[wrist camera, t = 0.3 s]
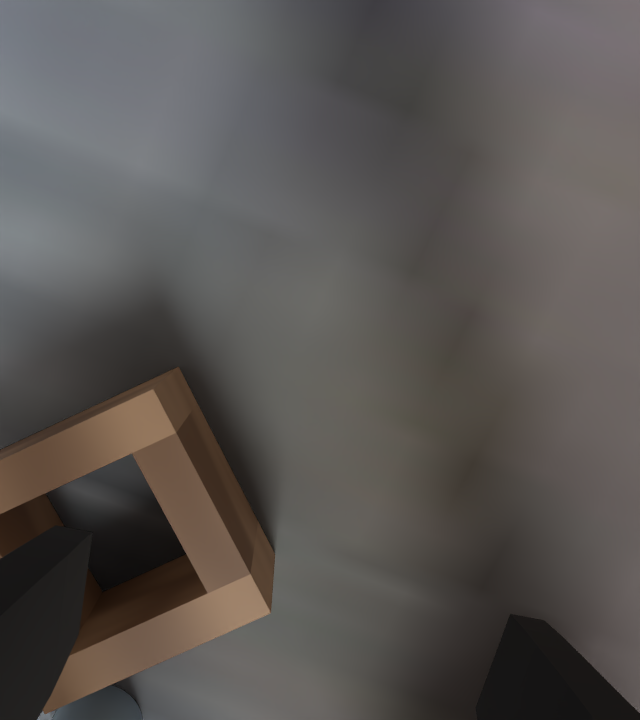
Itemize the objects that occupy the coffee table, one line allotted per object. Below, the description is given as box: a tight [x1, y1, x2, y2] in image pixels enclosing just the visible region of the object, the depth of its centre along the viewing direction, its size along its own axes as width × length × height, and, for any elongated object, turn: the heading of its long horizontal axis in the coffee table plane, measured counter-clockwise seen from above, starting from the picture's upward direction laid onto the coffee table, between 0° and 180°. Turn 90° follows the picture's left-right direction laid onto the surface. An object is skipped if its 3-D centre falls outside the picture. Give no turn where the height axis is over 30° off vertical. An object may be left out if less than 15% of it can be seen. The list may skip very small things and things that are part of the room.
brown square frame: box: [0, 367, 275, 714], centre depth 19 cm, size 8×8×4 cm
